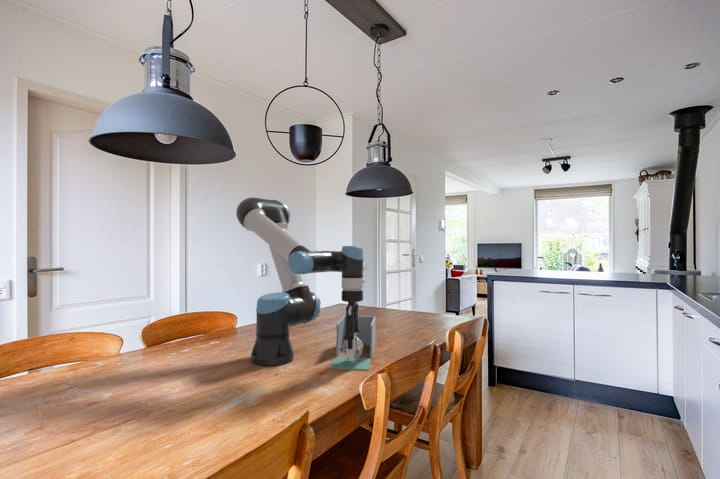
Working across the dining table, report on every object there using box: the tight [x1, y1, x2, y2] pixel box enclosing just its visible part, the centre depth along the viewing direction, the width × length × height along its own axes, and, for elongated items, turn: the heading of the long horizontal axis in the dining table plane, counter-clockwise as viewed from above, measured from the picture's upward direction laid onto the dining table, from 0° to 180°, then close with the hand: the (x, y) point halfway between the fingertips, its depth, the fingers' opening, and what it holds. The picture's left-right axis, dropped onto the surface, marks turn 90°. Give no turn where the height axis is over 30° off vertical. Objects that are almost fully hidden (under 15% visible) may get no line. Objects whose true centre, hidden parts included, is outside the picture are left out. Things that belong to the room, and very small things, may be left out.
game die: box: [339, 334, 368, 360], centre depth 130 cm, size 9×8×10 cm
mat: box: [329, 356, 372, 371], centre depth 130 cm, size 13×12×1 cm
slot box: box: [335, 314, 376, 359], centre depth 147 cm, size 13×18×12 cm
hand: (352, 354), depth 130 cm, fingers closed on game die, 8 cm apart
